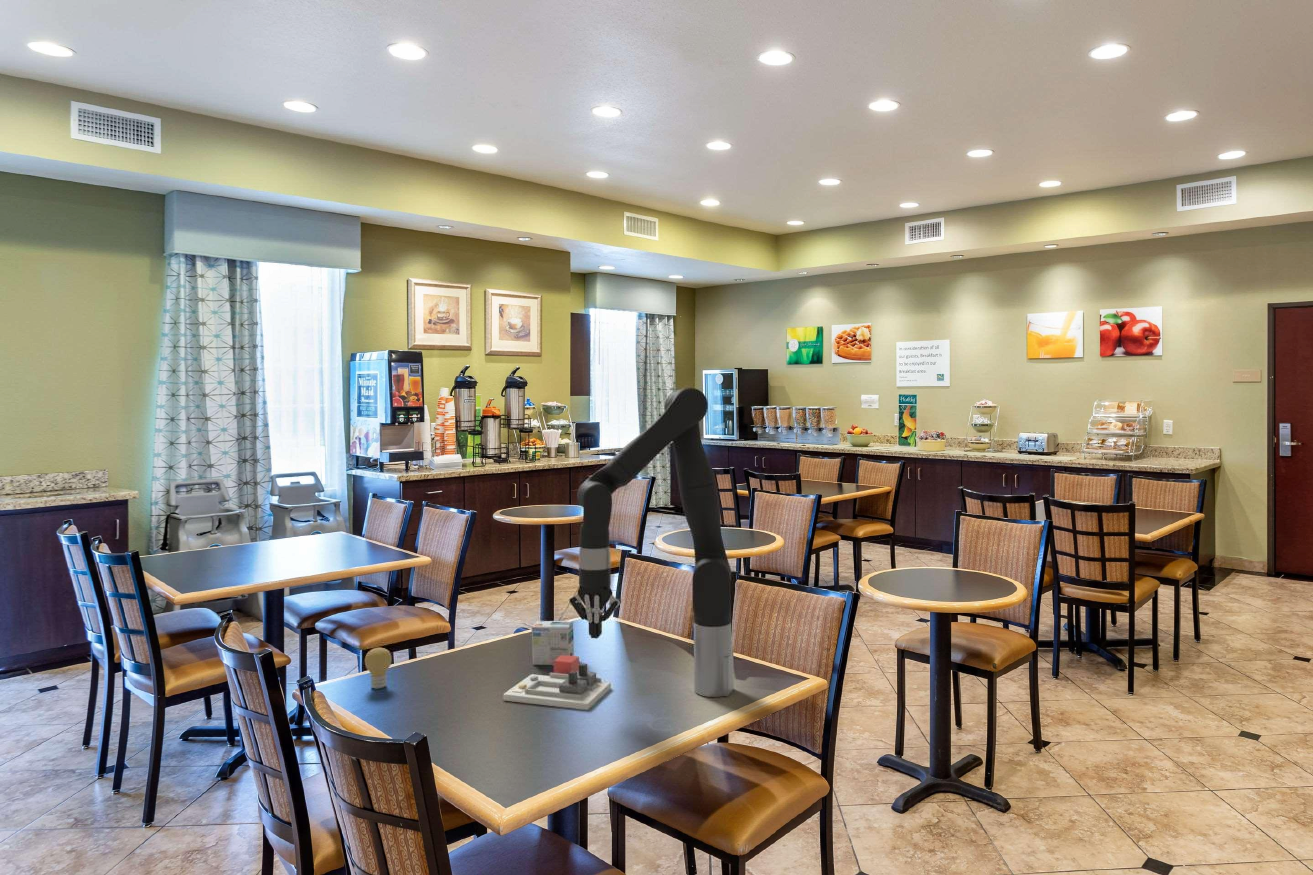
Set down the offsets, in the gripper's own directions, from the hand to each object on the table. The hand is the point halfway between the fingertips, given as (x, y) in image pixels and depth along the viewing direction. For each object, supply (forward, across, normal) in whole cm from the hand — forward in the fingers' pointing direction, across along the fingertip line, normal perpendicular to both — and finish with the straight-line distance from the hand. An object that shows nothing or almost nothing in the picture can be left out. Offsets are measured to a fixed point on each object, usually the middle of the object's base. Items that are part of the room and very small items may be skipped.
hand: (595, 637), depth 192 cm
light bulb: (+16, +57, +6) cm, 59 cm away
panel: (+16, +11, -2) cm, 19 cm away
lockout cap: (+16, +14, -14) cm, 25 cm away
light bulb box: (+16, +23, -25) cm, 37 cm away
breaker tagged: (+14, +6, 0) cm, 15 cm away
